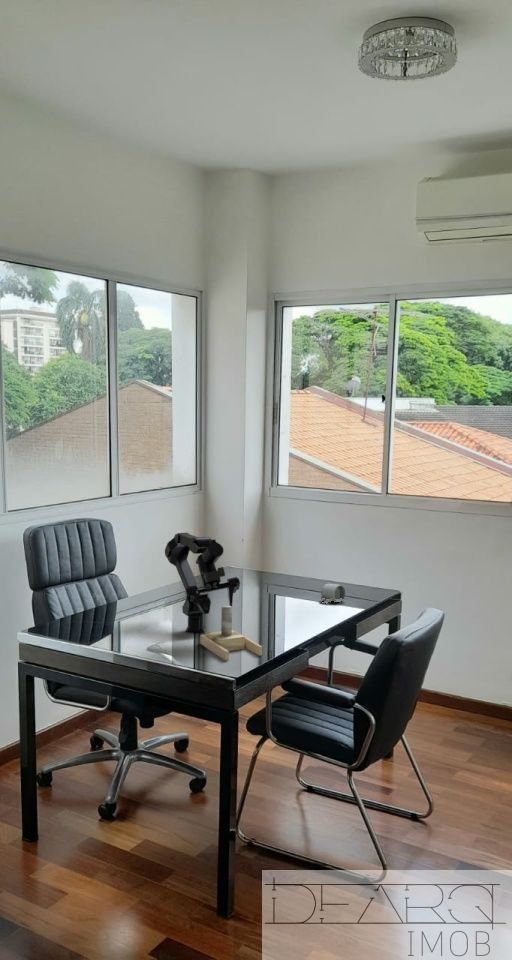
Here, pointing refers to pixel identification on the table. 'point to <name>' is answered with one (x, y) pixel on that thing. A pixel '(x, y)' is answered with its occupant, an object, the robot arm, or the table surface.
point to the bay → (225, 653)
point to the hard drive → (157, 648)
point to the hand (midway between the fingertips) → (218, 611)
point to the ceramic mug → (332, 592)
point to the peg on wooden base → (227, 632)
